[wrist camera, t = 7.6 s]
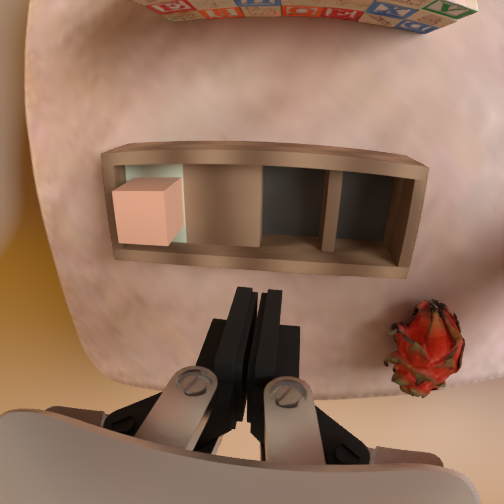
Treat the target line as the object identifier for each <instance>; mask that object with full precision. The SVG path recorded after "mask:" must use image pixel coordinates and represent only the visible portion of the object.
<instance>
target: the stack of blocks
mask: <svg viewBox="0 0 504 504" xmlns="http://www.w3.org/2000/svg"><path fill="white" fill-rule="evenodd" d="M131 1H134V2H136V3H137V4H140V5H142V6H146V7H147V8H149V9H151V10H153V11H155V12H157V13H159V14H161V16H162V17H164V18H166V19H168V20H170V21H172V22H179V21H187V20H196V19H206V18H207V19H216V18H230V17H280V16H283V15H287V16H310V17H320V16H322V17H331V18H341V19H350V20H357V21H358V22H363V23H370V24H376V25H382V26H387V27H395V28H399V29H404V30H409V31H413V32H418V33H422V34H427V33H429V32H431V31H434V30H436V29H439V28H442V27H445V26H447V25H450V24H452V23H455V22H457V19H461V18H463V17H465V16H468V15H471V14H474V13H476V12H478V5H477V0H131Z"/></svg>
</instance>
